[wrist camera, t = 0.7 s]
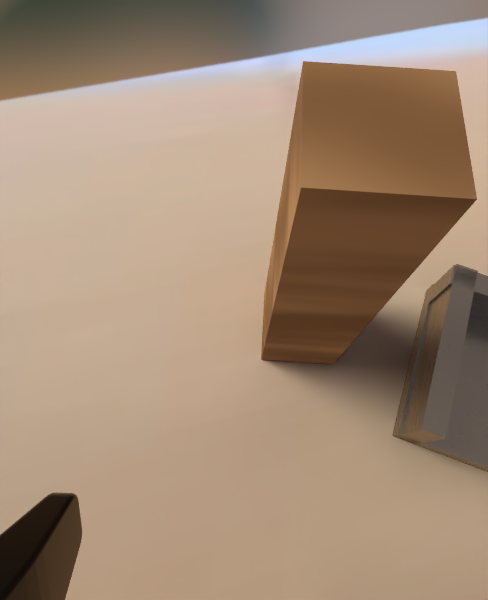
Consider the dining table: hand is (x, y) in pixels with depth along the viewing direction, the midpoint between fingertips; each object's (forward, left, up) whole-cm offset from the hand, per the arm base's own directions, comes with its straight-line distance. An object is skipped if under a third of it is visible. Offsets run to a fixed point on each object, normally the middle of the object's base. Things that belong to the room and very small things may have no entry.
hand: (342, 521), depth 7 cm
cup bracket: (-5, -11, -13) cm, 18 cm away
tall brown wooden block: (+4, -7, -13) cm, 15 cm away
